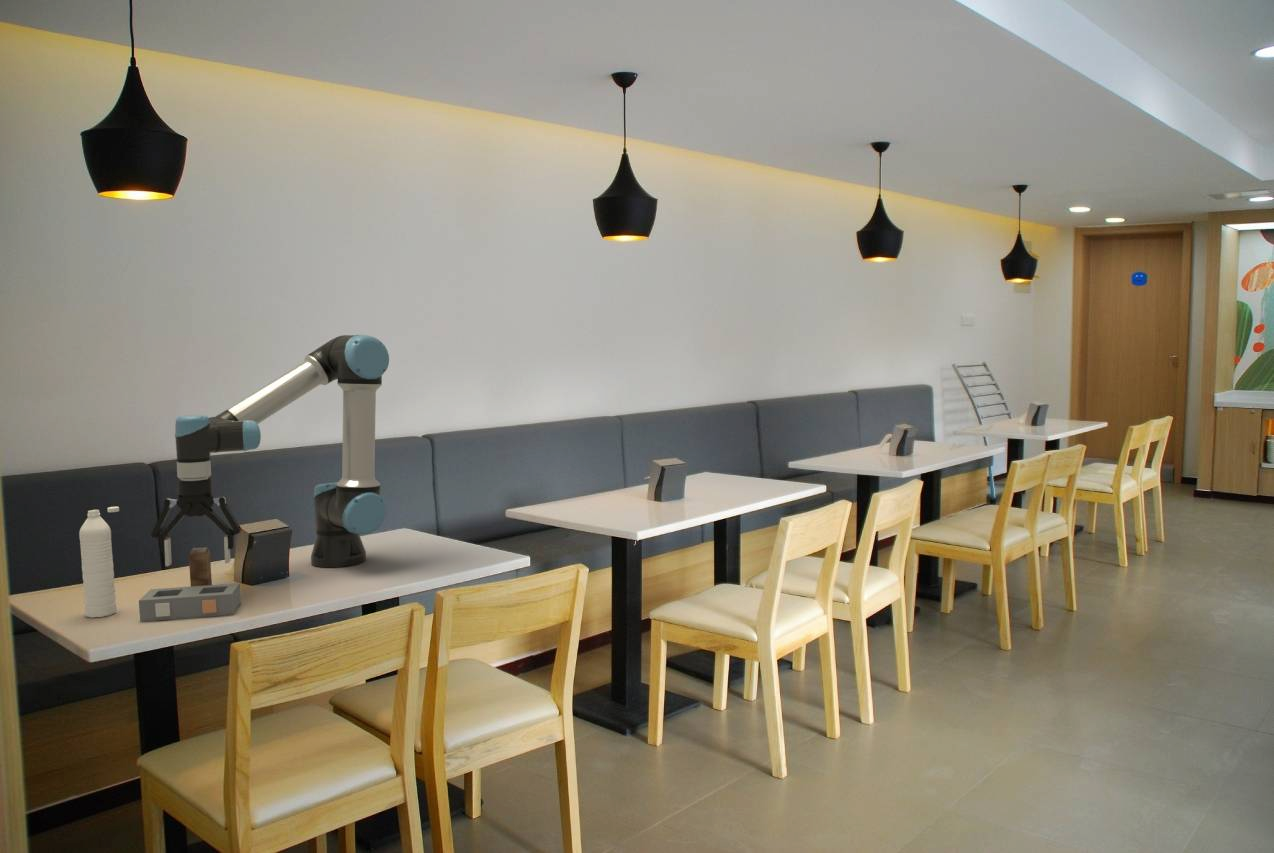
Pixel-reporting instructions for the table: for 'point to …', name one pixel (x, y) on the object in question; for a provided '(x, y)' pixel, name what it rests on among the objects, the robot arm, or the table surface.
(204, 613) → the socket block
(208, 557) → the plug
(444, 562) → the table surface
